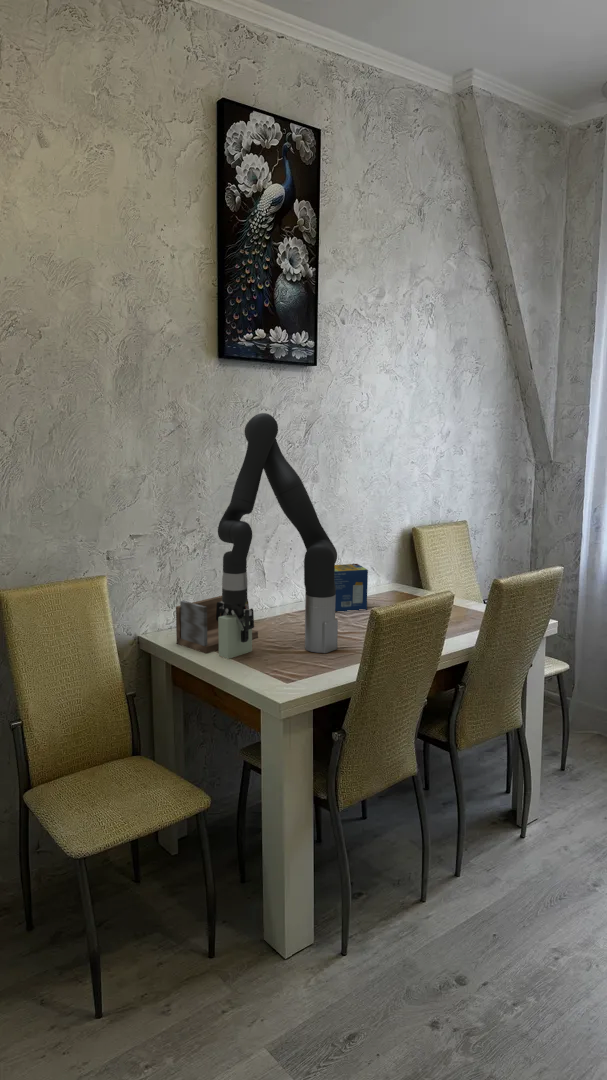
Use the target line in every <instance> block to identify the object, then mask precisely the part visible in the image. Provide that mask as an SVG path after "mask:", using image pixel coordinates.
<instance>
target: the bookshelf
mask: <svg viewBox="0 0 607 1080" xmlns="http://www.w3.org/2000/svg"><path fill="white" fill-rule="evenodd" d="M220 601H222V595H219V596H214V597H211V598H206V599H202V600H201V599H200V600H198V601H193V602H190V601H186V600H180V601H179V603H180V605H178V606H175V621H176V622H175V625H176V626H175V627H176V629H175V630H176V644H177V645H178V646H179V645H180V646H183V647H185V648H189V649H191V650H194V651H195V650H196V651H197V652H201V653H204V654H209V653H212V652H216V651H219V629H218V621H217V620H216V608H217V602H220ZM220 616H221V613H220ZM257 638H259V631H257V630H255V629H252V640H254V639H257ZM215 650H216V651H215Z"/></svg>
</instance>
